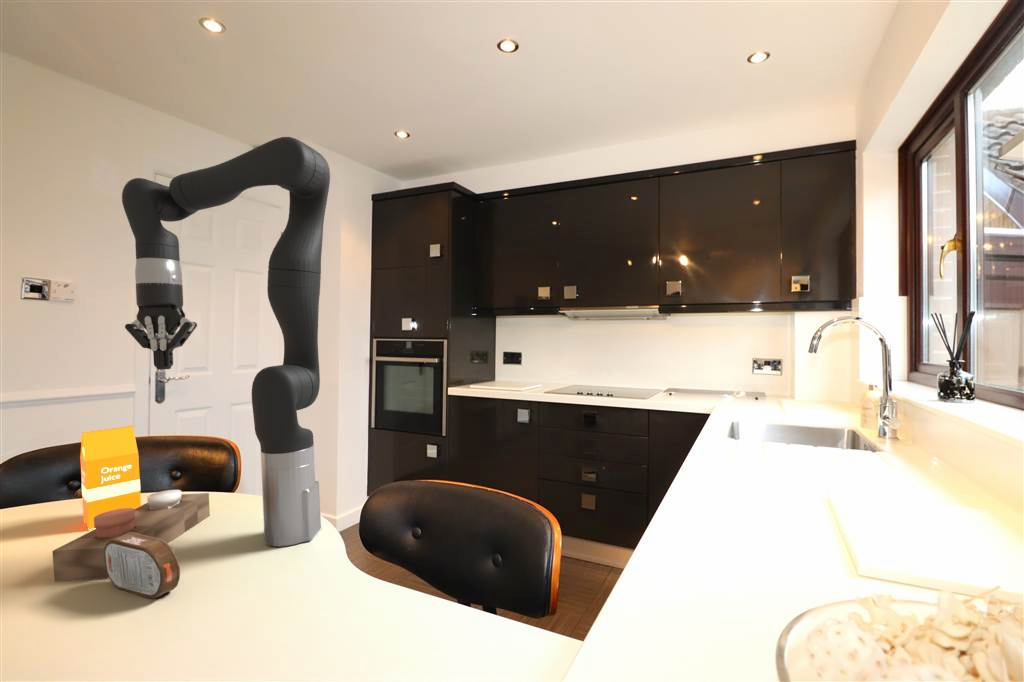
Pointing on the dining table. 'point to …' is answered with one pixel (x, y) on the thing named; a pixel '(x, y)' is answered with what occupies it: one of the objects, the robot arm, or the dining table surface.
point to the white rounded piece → (164, 499)
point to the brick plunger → (114, 522)
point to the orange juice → (109, 471)
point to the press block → (166, 524)
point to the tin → (141, 565)
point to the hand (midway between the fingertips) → (163, 369)
